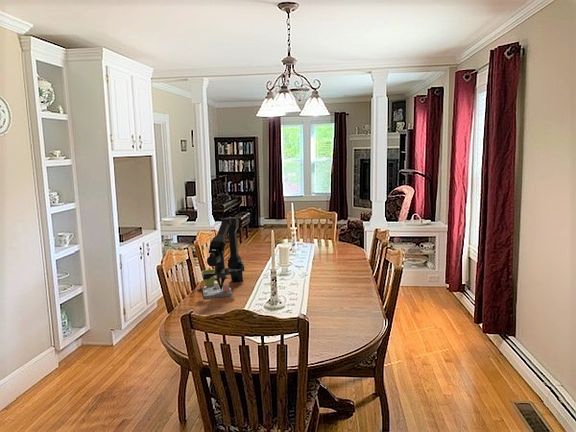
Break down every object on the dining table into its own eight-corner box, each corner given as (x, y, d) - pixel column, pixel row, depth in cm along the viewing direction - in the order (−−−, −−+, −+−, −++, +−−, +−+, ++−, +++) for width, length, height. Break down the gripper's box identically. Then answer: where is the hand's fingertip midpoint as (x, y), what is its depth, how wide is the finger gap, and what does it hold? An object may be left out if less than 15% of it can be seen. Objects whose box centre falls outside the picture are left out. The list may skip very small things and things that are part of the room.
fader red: (227, 289, 256) (227, 284, 255) (228, 291, 252) (227, 286, 252) (223, 290, 255) (222, 284, 255) (223, 291, 252) (223, 286, 251)
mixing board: (228, 286, 268) (228, 281, 267) (232, 295, 250) (231, 290, 250) (202, 289, 264) (201, 285, 264) (204, 298, 247) (203, 293, 247)
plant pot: (202, 288, 266) (201, 274, 265) (201, 284, 275) (200, 270, 274) (218, 286, 268) (217, 272, 267) (217, 282, 277) (216, 268, 276)
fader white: (218, 286, 264) (218, 281, 263) (219, 287, 260) (218, 282, 260) (214, 286, 263) (214, 281, 263) (215, 288, 260) (214, 283, 259)
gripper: (202, 267, 241) (205, 295, 243) (237, 263, 245) (239, 291, 248) (201, 262, 252) (203, 289, 254) (235, 258, 256) (237, 285, 258)
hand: (221, 289), depth 253 cm, fingers closed
